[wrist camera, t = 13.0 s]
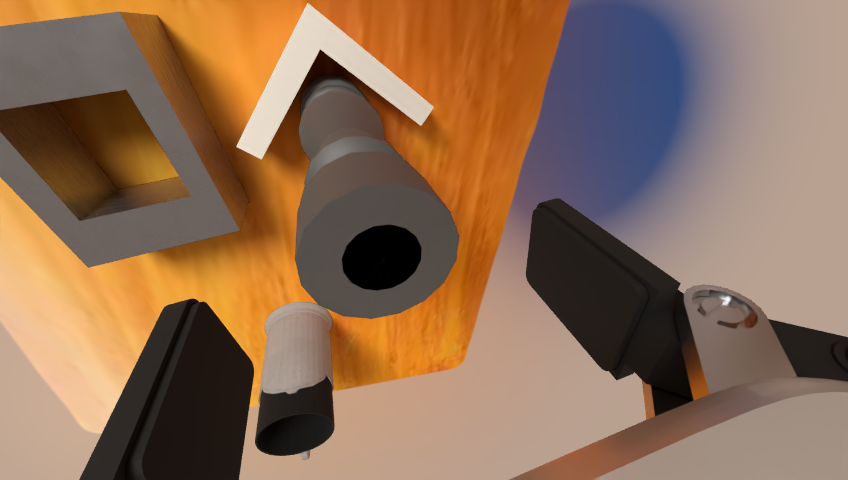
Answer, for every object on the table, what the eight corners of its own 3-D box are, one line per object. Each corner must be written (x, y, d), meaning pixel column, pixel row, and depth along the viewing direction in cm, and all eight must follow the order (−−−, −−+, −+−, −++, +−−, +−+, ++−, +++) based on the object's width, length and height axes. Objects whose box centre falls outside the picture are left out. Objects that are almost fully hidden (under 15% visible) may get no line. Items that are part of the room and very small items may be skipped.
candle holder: (314, 148, 32) (324, 343, 12) (289, 82, 28) (249, 207, 9) (373, 133, 33) (470, 293, 13) (357, 67, 29) (458, 152, 10)
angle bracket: (197, 21, 25) (176, 19, 21) (406, -7, 28) (422, -13, 24) (252, 145, 30) (243, 163, 26) (420, 111, 33) (435, 123, 29)
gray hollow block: (-34, 39, 22) (-130, 42, 17) (157, 15, 24) (119, 11, 19) (122, 230, 31) (88, 267, 26) (249, 201, 33) (239, 230, 28)
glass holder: (330, 297, 43) (338, 400, 31) (336, 363, 51) (345, 467, 39) (259, 307, 40) (238, 423, 29) (276, 375, 48) (266, 490, 36)
